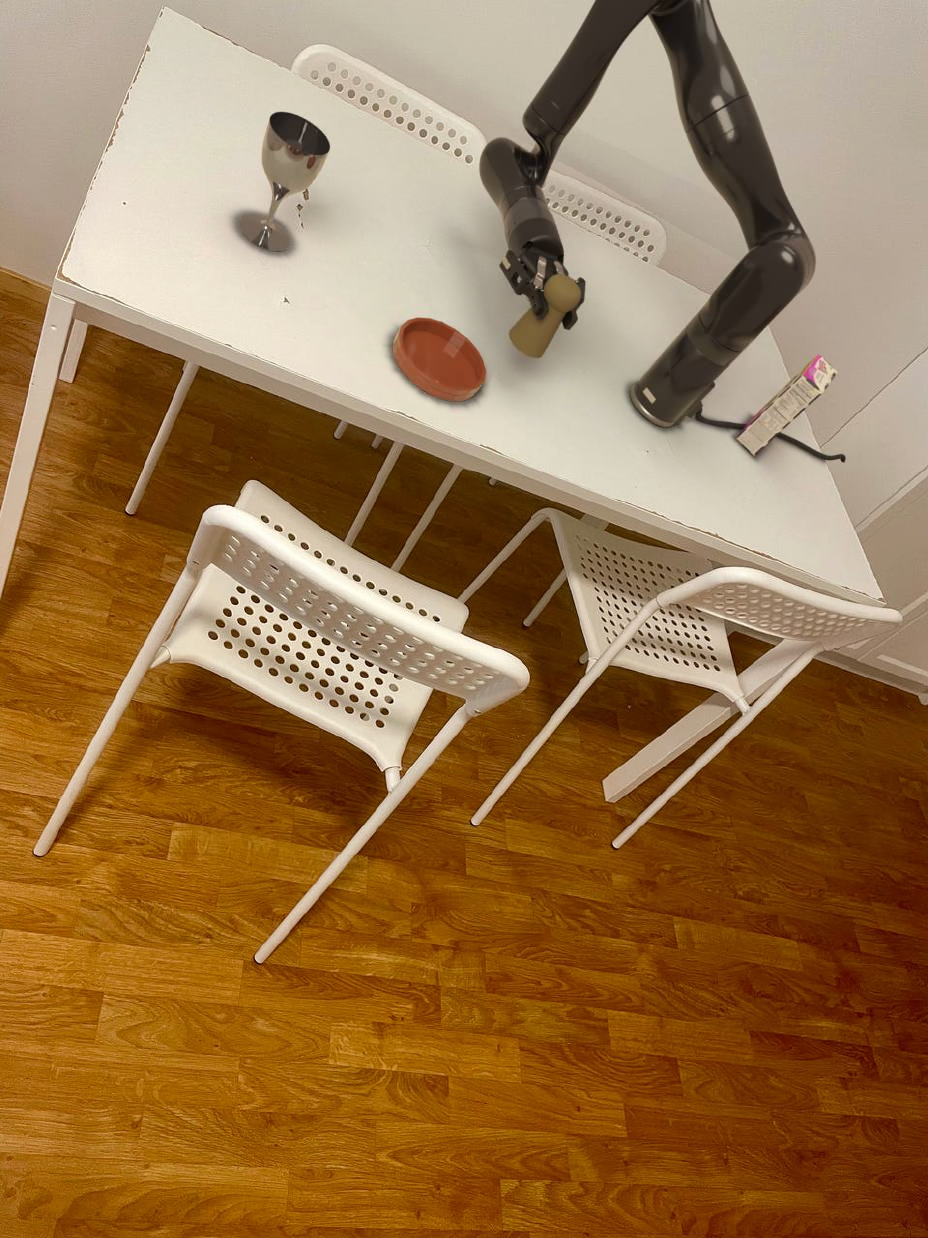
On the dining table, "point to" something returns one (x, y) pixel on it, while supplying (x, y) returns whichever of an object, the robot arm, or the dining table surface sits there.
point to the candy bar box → (787, 404)
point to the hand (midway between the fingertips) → (557, 319)
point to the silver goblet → (285, 172)
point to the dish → (439, 359)
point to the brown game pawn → (538, 334)
